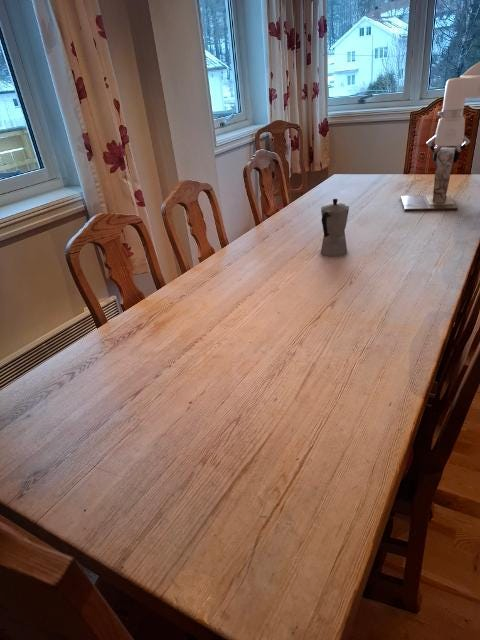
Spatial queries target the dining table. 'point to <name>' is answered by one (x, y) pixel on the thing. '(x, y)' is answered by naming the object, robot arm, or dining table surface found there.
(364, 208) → the dining table surface
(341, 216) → the coffeepot
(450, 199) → the board
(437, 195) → the stone block
